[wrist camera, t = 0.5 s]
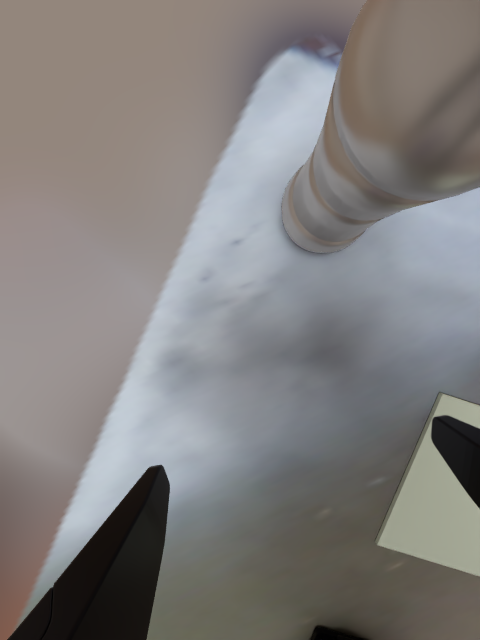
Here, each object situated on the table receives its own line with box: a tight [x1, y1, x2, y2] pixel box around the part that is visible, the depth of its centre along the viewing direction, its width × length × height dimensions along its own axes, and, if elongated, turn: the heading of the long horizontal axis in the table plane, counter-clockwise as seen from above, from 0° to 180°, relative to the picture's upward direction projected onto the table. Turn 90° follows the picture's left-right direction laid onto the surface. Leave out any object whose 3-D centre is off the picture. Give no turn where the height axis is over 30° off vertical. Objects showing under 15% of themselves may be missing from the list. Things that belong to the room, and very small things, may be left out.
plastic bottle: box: [281, 0, 480, 253], centre depth 12 cm, size 6×7×20 cm
